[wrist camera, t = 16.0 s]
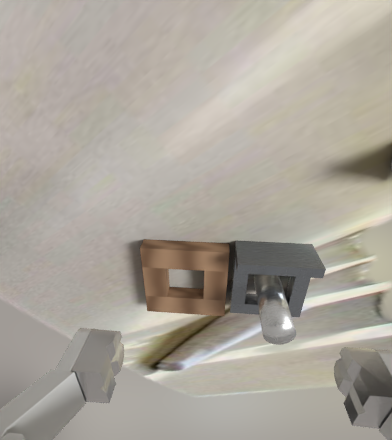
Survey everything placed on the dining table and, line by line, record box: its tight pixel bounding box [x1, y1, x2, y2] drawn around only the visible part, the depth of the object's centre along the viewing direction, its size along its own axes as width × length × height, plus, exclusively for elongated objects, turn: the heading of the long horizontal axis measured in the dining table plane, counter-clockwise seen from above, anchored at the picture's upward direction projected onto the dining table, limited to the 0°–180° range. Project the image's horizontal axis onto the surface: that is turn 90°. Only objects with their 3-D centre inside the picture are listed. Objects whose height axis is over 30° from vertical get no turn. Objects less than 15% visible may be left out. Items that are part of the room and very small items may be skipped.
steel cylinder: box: [254, 274, 296, 344], centre depth 40 cm, size 4×4×11 cm
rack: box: [230, 241, 326, 317], centre depth 42 cm, size 12×14×6 cm
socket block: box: [140, 240, 229, 316], centre depth 45 cm, size 14×14×2 cm
